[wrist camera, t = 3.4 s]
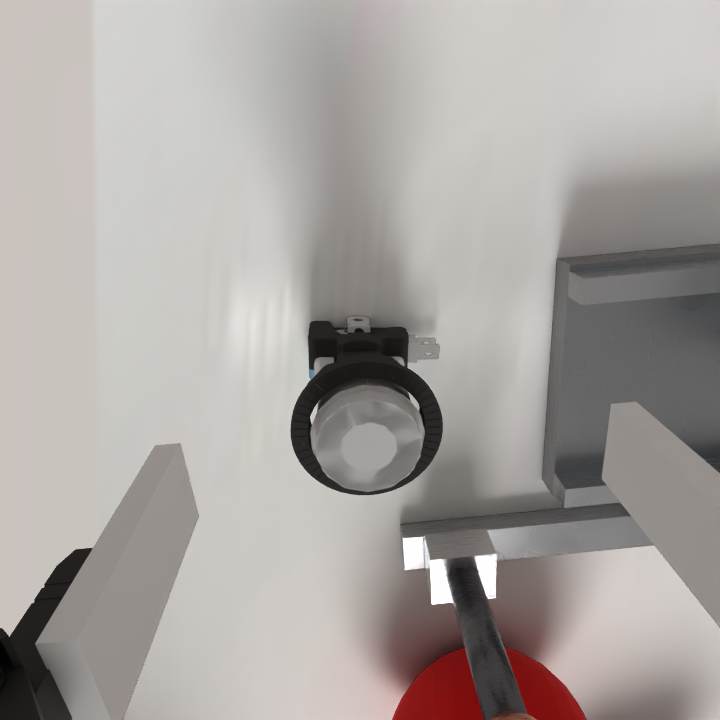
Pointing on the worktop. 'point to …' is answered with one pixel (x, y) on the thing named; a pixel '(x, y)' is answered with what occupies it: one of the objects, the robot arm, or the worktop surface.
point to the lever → (475, 615)
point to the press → (612, 393)
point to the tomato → (459, 697)
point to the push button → (365, 408)
